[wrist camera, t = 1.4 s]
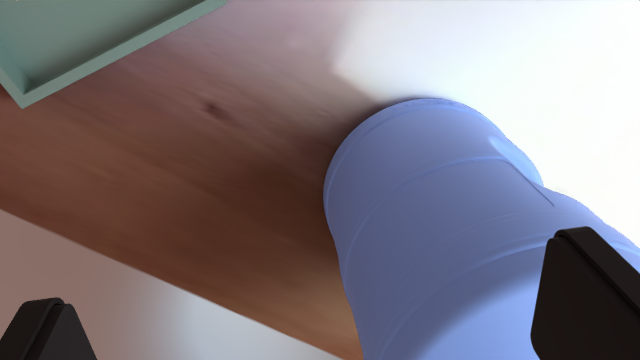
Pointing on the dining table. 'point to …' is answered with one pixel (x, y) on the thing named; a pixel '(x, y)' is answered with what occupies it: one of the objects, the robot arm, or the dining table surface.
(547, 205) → the water jug
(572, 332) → the robot arm
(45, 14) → the green tray
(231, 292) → the dining table surface
